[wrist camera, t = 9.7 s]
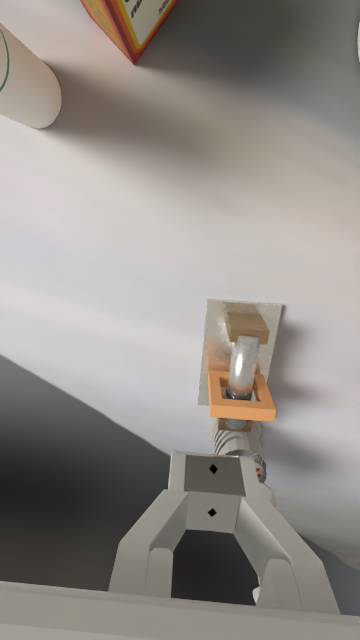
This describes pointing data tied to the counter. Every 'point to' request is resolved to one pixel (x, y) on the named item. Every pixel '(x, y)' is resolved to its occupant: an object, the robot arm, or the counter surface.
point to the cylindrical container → (26, 85)
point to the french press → (243, 446)
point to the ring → (240, 408)
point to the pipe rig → (237, 350)
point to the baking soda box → (129, 21)
